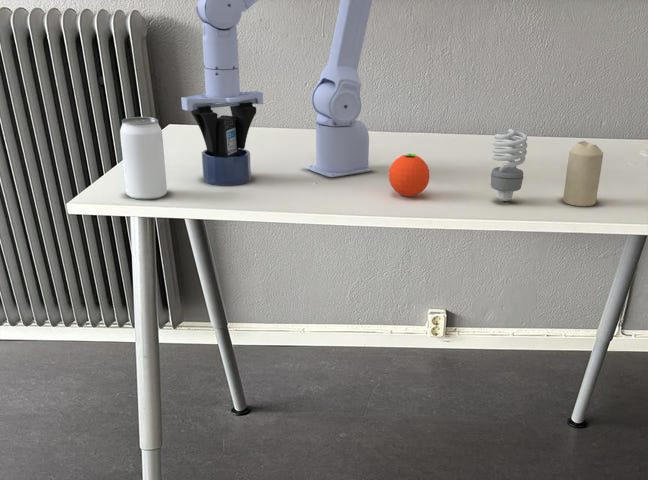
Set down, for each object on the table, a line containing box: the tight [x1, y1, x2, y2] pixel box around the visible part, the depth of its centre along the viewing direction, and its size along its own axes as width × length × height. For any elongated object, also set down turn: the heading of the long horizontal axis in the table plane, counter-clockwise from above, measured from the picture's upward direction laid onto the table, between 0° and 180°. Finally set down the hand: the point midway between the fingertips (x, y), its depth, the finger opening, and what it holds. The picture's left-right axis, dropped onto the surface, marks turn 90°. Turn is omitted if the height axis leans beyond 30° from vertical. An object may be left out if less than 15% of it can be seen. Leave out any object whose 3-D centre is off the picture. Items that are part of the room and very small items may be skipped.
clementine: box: [388, 153, 431, 198], centre depth 141 cm, size 8×7×7 cm
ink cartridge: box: [215, 114, 239, 157], centre depth 145 cm, size 5×2×8 cm, turn 162°
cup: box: [201, 148, 252, 186], centre depth 147 cm, size 8×8×5 cm
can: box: [119, 116, 168, 201], centre depth 134 cm, size 6×6×12 cm
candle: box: [562, 140, 604, 207], centre depth 140 cm, size 6×6×10 cm
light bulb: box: [490, 128, 528, 203], centre depth 138 cm, size 6×6×12 cm
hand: (225, 149), depth 145 cm, fingers closed on ink cartridge, 5 cm apart
